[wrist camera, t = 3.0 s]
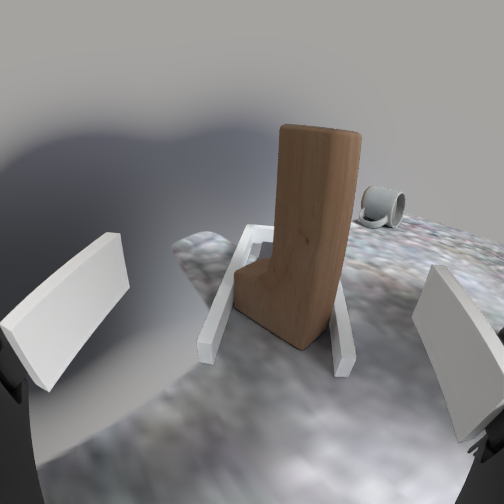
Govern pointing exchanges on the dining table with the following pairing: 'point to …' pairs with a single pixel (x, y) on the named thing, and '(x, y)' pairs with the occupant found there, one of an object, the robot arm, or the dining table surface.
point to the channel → (225, 298)
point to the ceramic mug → (382, 207)
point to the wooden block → (304, 235)
